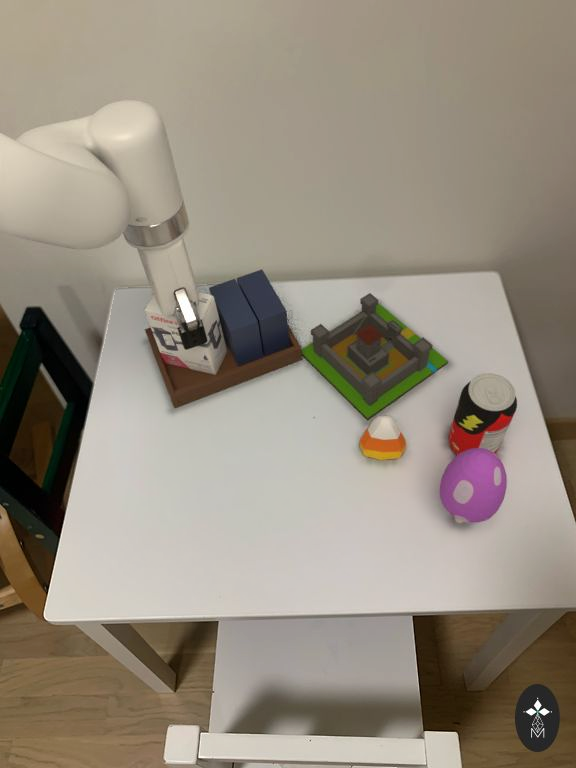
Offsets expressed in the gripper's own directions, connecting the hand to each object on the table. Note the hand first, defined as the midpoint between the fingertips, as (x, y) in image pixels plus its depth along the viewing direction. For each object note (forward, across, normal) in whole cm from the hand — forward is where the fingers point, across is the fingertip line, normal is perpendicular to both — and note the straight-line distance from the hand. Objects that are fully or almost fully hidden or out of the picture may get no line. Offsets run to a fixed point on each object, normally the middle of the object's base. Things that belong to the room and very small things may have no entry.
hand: (185, 319), depth 80 cm
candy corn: (+9, +25, +17) cm, 32 cm away
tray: (+9, 0, +4) cm, 10 cm away
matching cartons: (+8, 0, +9) cm, 12 cm away
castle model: (+9, +11, +23) cm, 27 cm away
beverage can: (+9, +29, +28) cm, 41 cm away
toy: (+9, +37, +21) cm, 44 cm away
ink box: (+8, 0, 0) cm, 8 cm away
